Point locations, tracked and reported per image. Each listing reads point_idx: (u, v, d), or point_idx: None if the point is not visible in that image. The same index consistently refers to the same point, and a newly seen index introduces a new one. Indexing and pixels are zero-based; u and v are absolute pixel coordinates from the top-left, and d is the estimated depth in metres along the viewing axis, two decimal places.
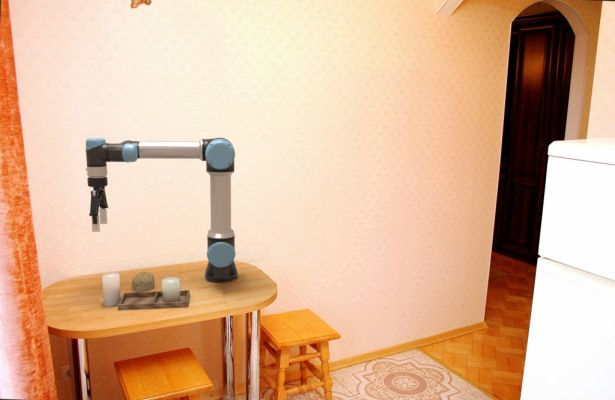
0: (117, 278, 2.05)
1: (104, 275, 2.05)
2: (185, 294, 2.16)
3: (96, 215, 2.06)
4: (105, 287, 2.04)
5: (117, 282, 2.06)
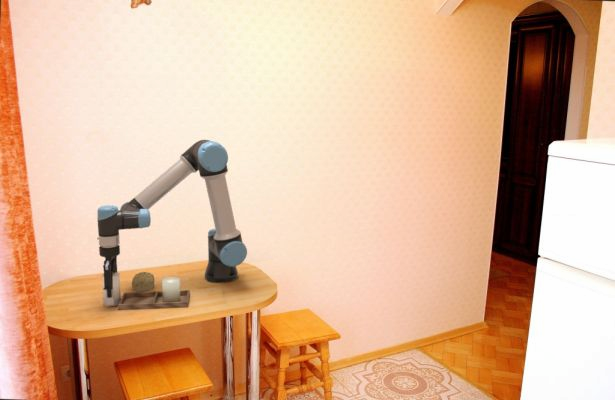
0: (117, 278, 2.05)
1: None
2: (185, 294, 2.16)
3: (110, 289, 2.02)
4: None
5: (117, 282, 2.06)
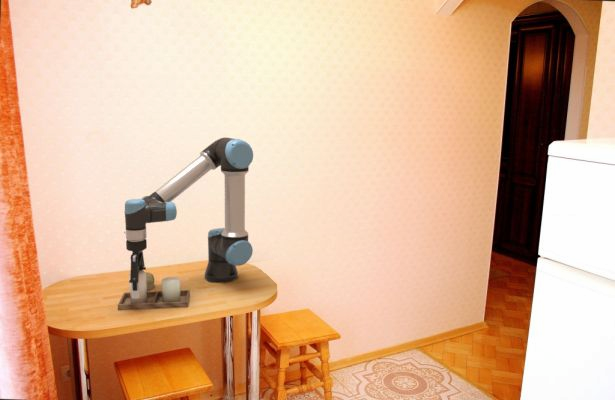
0: (144, 277, 2.04)
1: None
2: (185, 294, 2.16)
3: (136, 281, 1.97)
4: None
5: (144, 281, 2.04)
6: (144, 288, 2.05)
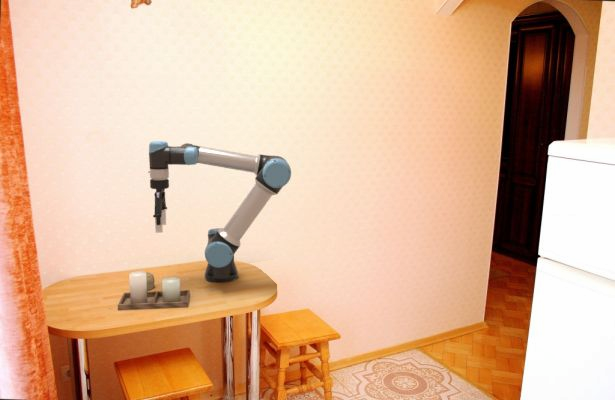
0: (144, 277, 2.04)
1: (131, 274, 2.04)
2: (185, 294, 2.16)
3: (160, 216, 2.12)
4: (132, 286, 2.03)
5: (144, 281, 2.04)
6: (144, 288, 2.05)
